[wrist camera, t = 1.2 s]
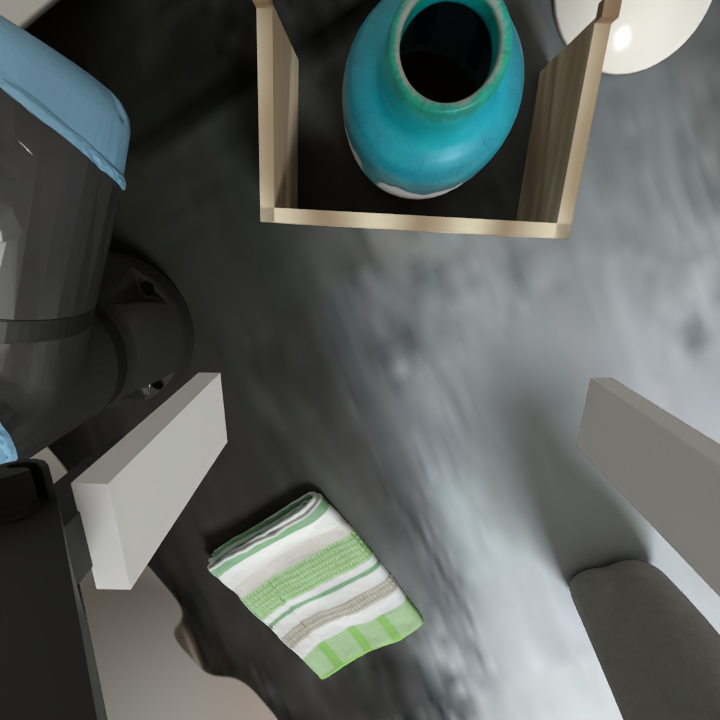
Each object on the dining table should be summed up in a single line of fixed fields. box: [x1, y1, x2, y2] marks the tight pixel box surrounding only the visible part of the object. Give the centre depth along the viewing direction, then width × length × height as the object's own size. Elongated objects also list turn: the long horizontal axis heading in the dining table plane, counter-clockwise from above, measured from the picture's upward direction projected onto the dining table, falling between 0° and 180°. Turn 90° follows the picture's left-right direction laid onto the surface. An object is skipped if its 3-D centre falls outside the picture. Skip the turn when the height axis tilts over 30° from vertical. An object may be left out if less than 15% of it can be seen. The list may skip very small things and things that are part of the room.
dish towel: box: [208, 492, 424, 679], centre depth 50 cm, size 17×23×4 cm
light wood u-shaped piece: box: [253, 0, 622, 239], centre depth 31 cm, size 22×14×10 cm, turn 87°
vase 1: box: [342, 0, 524, 200], centre depth 26 cm, size 11×11×19 cm
